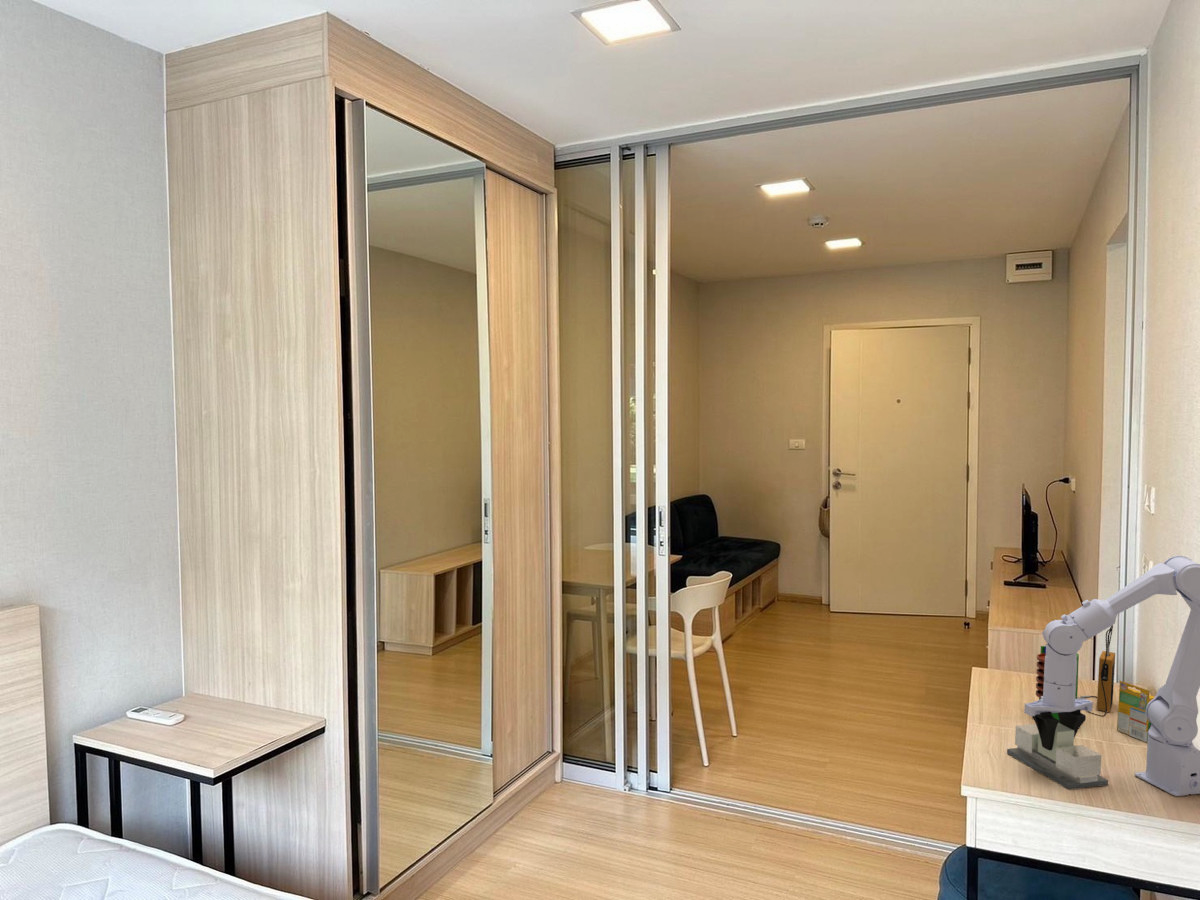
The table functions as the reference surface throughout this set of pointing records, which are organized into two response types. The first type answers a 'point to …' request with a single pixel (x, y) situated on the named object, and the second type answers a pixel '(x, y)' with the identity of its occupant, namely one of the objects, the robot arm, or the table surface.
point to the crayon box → (1133, 711)
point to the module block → (1058, 741)
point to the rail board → (1052, 771)
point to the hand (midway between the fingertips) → (1056, 747)
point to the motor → (1041, 676)
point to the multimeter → (1105, 678)
